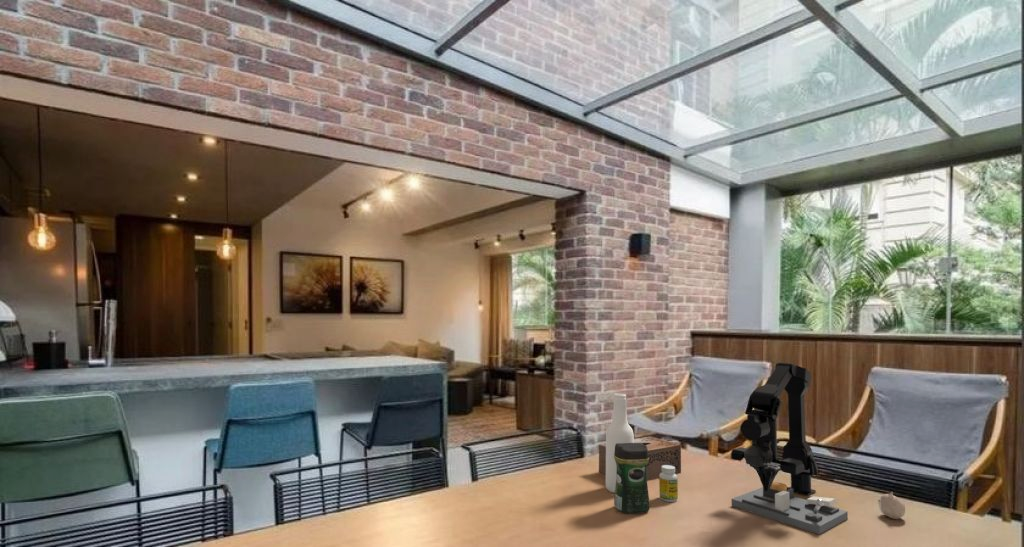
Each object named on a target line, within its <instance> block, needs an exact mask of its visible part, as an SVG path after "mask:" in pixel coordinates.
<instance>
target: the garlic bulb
mask: <svg viewBox="0 0 1024 547" xmlns="http://www.w3.org/2000/svg"><path fill="white" fill-rule="evenodd" d="M877 503H878V507H879V510H880V512H881V513H882V514H883V515H884V516H886V517H888V518H891V519H892V520H899V519H902V518H903V517H904V516H905V514H906V506H905V503H904V502H903V501H902V500H901V499H899V498H898V497H897V496H895V495H894V493H893V491H890V492H888V493H885V494H883V495H881V496H880V499H878V502H877Z"/></svg>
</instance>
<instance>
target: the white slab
mask: <svg viewBox="0 0 1024 547" xmlns="http://www.w3.org/2000/svg"><path fill="white" fill-rule="evenodd" d="M817 499H822V500H823V501H824V505H823V506H832V507H833V506H834V505H835V504H837V501H836V498H831V497H821V496H810V497H809V498H806V500H807V504H815V505H816V504H817V503H816V500H817Z"/></svg>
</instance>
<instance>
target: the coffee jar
mask: <svg viewBox="0 0 1024 547" xmlns="http://www.w3.org/2000/svg"><path fill="white" fill-rule="evenodd" d="M614 459H615V461H616V466H617V475H616V487H615V493H614V499H613V501H614V503H613V506H614V507H615V509H616V510H617V511H618V512H620V513H623V514H641V513H644V514H645V513H648V512H649V510H650V506H651V505H650V497H649V496H650V494H649V487H648V480H647V464H648V461H649V456H648V449H647V446H646V445H644V444H642V443H617V444H616V445H615V452H614Z"/></svg>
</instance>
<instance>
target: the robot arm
mask: <svg viewBox="0 0 1024 547" xmlns="http://www.w3.org/2000/svg"><path fill="white" fill-rule="evenodd" d="M811 382H812V372H810V370H808V368H807V367H801V366H798V365H796V364H795V363H792V362H784V361H783V362H782V361H780V362H776V364H775V368H774V370H773V372H772V373H771V374H770V376H769V377H768V379H767V380H766V382H765V383H764V384H762V385H760V386H757V387H755V389H754V390H753V391H752V392H751V394H750V395H749V398H748V402H747V405H746V409H745V412H744V413H745V415H747V419H745V420H743V421H742V422H741V425H740V432H741V434H742V436H743V437H744V438H745V439H747V440H748V441H751V445H750V446H748V448H747V447H746V448H745V447H736V448H733V449H732V450H731V452H730V459H731V460H735V461H738V462H741V461H743V460H745V464H747V465H749V466H750V467H752V468H753V469H754V470H755V471H756V473H757V474H758V477H759V480H760V483H761V485H762V487H763V488H764V490H765V491H769V489H770V487H771V485H772V483H773V482H774V480H775V478H776V477H777V475H778V474H779V472H780V471H782V472H783V473H787V474H789V475H790V486H788V487H789V488H793V489H794V494H795V493H796V494H798V495H799V494H800V495H803V496H810V495H812V494H814V493H816V491H817V490H816V489H812V477H814V476H818V471H819V470H818V464H817V462H816V460H815V457H814V456H813V449H812V448H811V446H810V444H809V443H808V441H807V439H806V438H807V437H806V410H805V408H806V407H805V394H806V393H807V392H808V390H809V389H810V386H811V385H810V384H811ZM784 390H785V392H786V394H787V411H788V416H787V417H788V441H787V442H786V444H785V445H783V447H782V450H783V452H782V457H781V458H782V459H779V458H780V453H778V444H780V439H779V438H777V436H778V435H777V434H778V432H777V419H778V417H779V413H780V411H781V408H782V404H783V401H782V399H781V395H782V393H783V392H784Z"/></svg>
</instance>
